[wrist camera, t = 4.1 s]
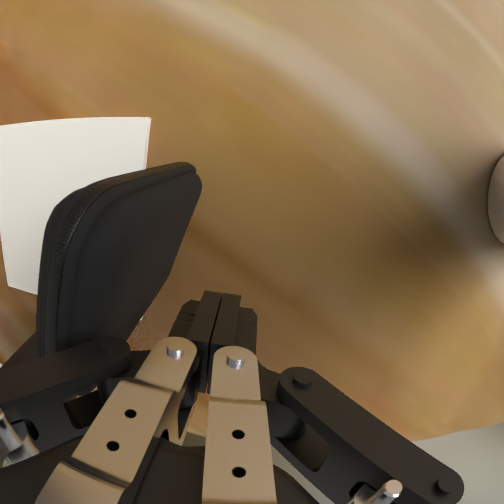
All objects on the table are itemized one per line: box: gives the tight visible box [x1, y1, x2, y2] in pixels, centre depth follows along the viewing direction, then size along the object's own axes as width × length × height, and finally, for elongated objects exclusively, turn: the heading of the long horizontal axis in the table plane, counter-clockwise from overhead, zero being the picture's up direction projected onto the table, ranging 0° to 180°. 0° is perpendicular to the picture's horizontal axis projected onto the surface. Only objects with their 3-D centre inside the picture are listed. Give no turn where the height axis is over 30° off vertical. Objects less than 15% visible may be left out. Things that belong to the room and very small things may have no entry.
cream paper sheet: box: [0, 117, 151, 321], centre depth 22 cm, size 16×16×1 cm
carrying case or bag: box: [36, 162, 202, 398], centre depth 15 cm, size 11×3×15 cm, turn 155°
